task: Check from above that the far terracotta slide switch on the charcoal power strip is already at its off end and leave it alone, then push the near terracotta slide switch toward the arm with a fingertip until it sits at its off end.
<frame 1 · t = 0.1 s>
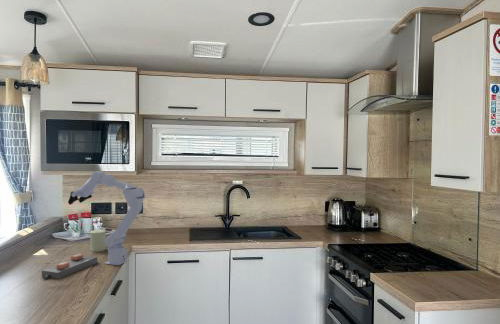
hand: (74, 202, 197), 32 cm above the countertop, tool tilted 50°, fingers open, 7 cm apart
switch a: (77, 256, 185), point 4 cm above the countertop, slide at 4.0 cm
switch b: (63, 265, 172), point 4 cm above the countertop, slide at 0.0 cm
can: (98, 249, 215), on the countertop
power strip: (71, 269, 179), on the countertop
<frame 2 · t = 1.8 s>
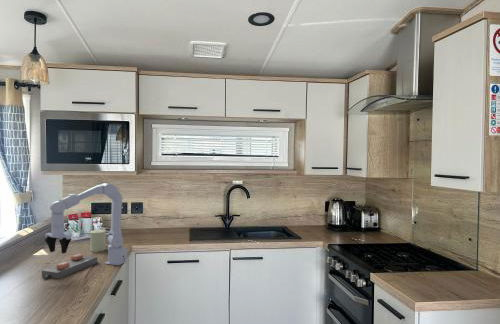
hand: (58, 252, 173), 10 cm above the countertop, tool pointing down, fingers open, 7 cm apart
nothing on the countertop moved.
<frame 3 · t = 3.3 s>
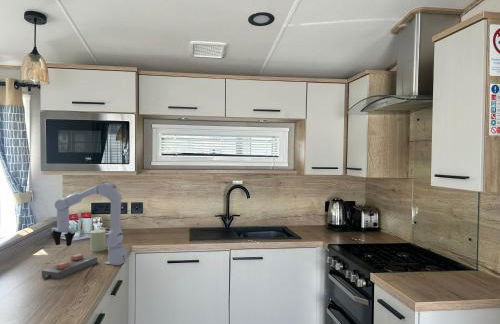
hand: (63, 245, 188), 10 cm above the countertop, tool pointing down, fingers open, 7 cm apart
nothing on the countertop moved.
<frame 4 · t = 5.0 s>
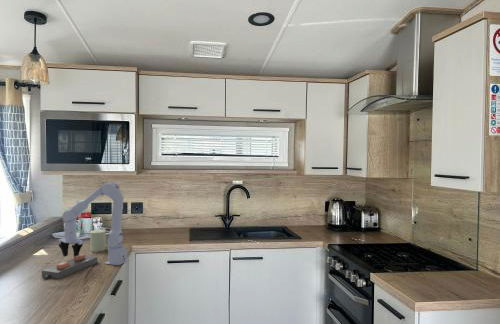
hand: (70, 256, 187), 4 cm above the countertop, tool pointing down, fingers open, 7 cm apart
switch a: (79, 257, 185), point 4 cm above the countertop, slide at 2.6 cm, touching gripper
everything else where it was.
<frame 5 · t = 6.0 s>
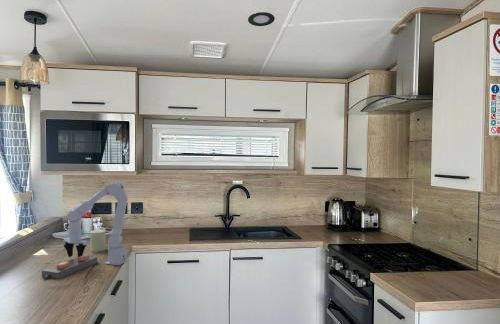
hand: (75, 257, 186), 4 cm above the countertop, tool pointing down, fingers open, 6 cm apart
switch a: (83, 257, 184), point 4 cm above the countertop, slide at -0.1 cm, touching gripper
everything else where it was.
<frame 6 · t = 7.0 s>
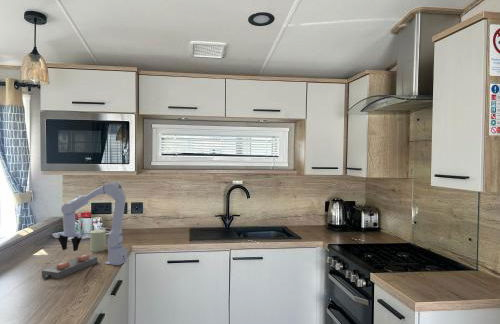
hand: (70, 250, 187), 8 cm above the countertop, tool pointing down, fingers open, 7 cm apart
switch a: (83, 257, 184), point 4 cm above the countertop, slide at -0.1 cm
everything else where it was.
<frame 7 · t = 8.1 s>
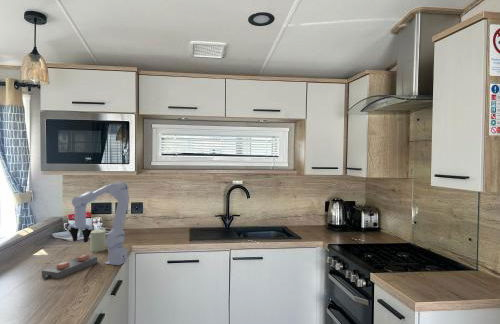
hand: (80, 241, 194), 10 cm above the countertop, tool pointing down, fingers open, 7 cm apart
nothing on the countertop moved.
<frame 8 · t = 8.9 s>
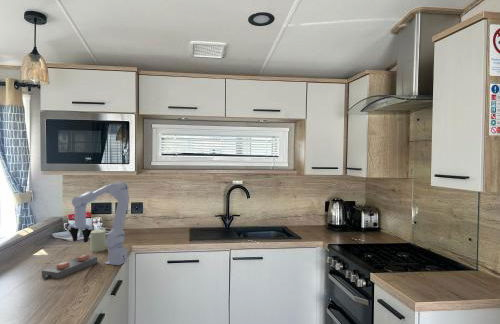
hand: (80, 241, 194), 10 cm above the countertop, tool pointing down, fingers open, 7 cm apart
nothing on the countertop moved.
at the end: switch a slide at -0.1 cm; switch b slide at 0.0 cm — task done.
